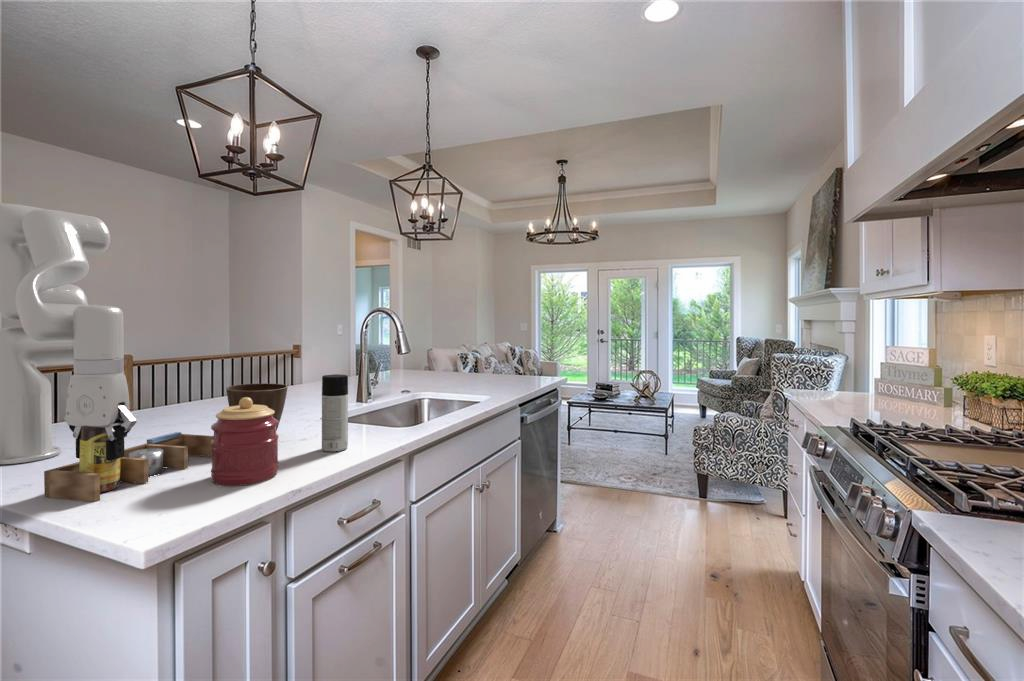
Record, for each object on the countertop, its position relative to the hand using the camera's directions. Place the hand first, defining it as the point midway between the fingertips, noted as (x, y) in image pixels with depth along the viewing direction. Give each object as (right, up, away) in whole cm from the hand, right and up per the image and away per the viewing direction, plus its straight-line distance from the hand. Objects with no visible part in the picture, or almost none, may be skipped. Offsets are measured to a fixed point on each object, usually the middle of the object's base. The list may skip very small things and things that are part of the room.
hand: (100, 456), depth 94 cm
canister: (+24, -7, +10) cm, 26 cm away
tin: (+1, -6, +10) cm, 12 cm away
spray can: (+34, -6, +33) cm, 48 cm away
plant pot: (+12, -6, +37) cm, 39 cm away
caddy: (+1, -6, +10) cm, 12 cm away
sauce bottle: (0, -7, 0) cm, 7 cm away
